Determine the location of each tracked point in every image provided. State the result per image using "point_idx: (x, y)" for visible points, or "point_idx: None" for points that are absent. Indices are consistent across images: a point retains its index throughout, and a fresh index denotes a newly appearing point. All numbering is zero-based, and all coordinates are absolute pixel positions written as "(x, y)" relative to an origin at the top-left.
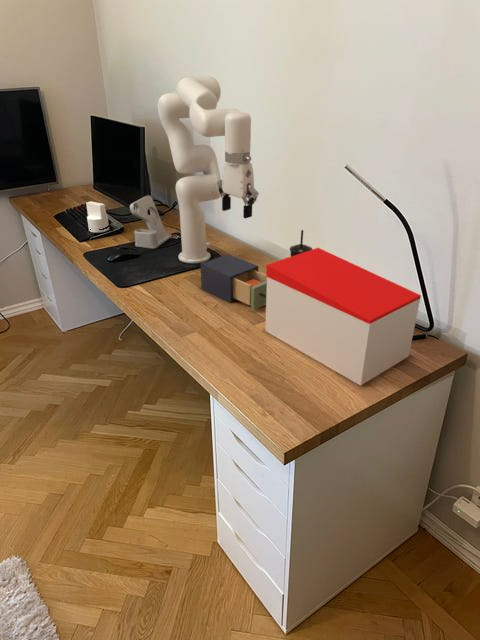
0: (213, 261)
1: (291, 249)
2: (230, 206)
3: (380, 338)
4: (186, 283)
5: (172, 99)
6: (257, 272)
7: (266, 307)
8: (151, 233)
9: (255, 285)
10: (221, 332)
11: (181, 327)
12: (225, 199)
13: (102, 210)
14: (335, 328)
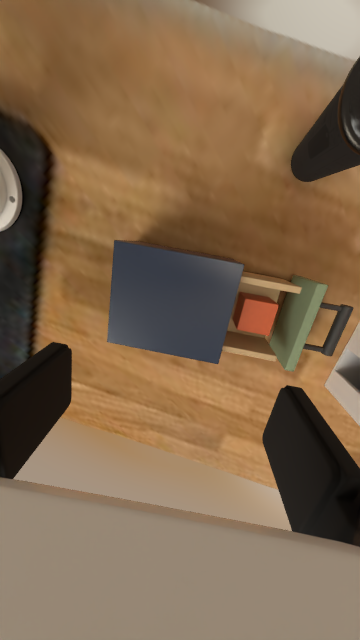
0: (121, 312)
1: (357, 141)
2: (59, 358)
3: None
4: (88, 316)
5: None
6: (251, 284)
7: (354, 418)
8: None
9: (270, 327)
10: (260, 419)
11: (199, 434)
12: (10, 465)
13: None
14: None
